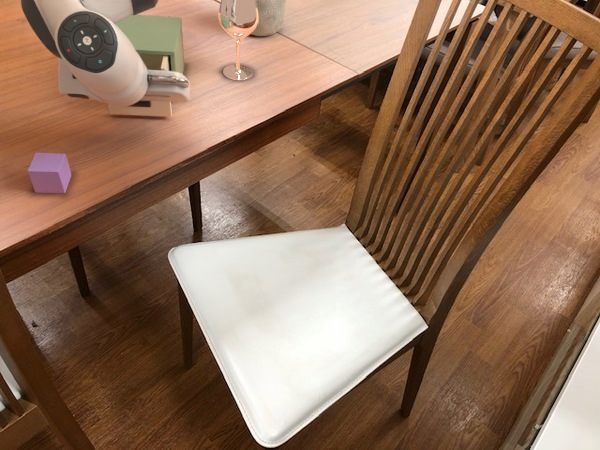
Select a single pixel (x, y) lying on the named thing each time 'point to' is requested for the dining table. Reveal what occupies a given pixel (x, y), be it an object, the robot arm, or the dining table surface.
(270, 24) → the planter
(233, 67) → the wineglass
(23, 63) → the dining table surface
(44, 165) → the purple cube
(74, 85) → the robot arm
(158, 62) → the cream drawer
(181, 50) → the green drawer cabinet
